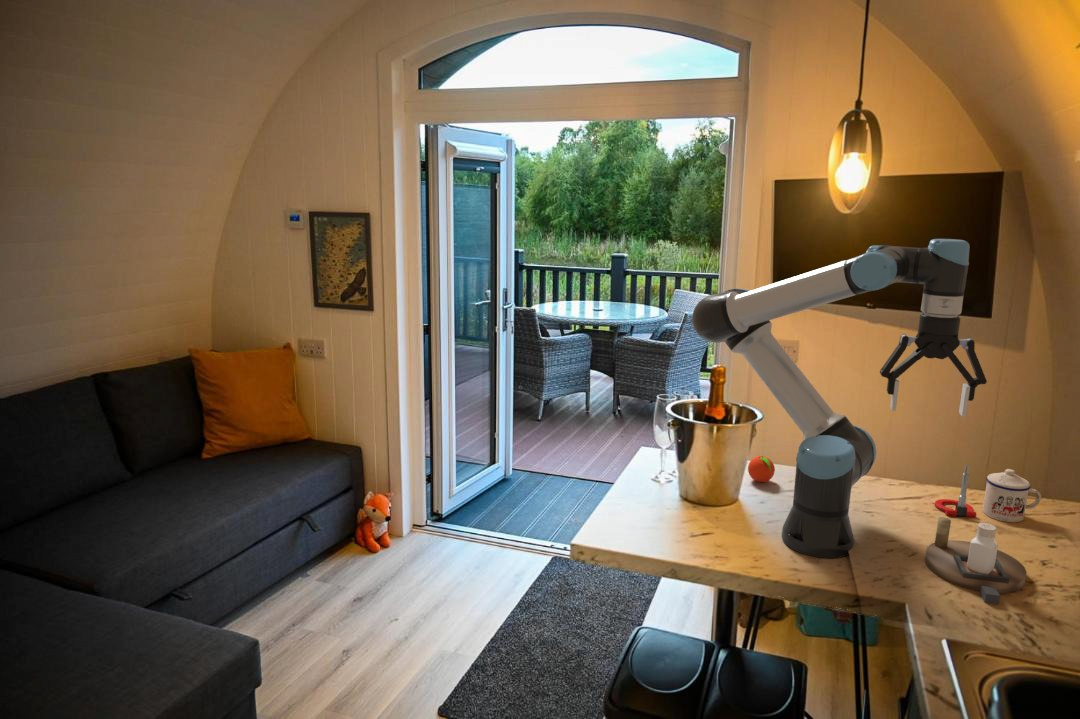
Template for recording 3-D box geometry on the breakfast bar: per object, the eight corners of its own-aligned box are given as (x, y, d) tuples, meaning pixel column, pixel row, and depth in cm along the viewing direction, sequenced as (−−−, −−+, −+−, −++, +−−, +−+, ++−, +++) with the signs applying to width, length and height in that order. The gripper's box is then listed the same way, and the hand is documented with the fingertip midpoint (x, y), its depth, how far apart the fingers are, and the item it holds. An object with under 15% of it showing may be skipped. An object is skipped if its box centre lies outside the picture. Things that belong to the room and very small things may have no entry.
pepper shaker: (986, 577, 149) (994, 532, 146) (965, 569, 152) (972, 525, 149) (994, 570, 151) (1002, 526, 149) (973, 562, 154) (980, 519, 152)
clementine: (781, 486, 200) (783, 461, 198) (757, 489, 198) (760, 463, 196) (764, 475, 207) (766, 450, 205) (742, 477, 205) (744, 453, 203)
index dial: (990, 602, 144) (997, 564, 142) (906, 560, 159) (910, 526, 157) (1043, 579, 152) (1050, 542, 150) (958, 541, 167) (963, 508, 165)
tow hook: (929, 502, 192) (942, 516, 183) (935, 453, 189) (949, 465, 180) (964, 504, 191) (980, 519, 182) (971, 455, 188) (987, 468, 179)
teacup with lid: (988, 521, 180) (995, 475, 178) (976, 505, 189) (983, 461, 186) (1044, 526, 178) (1052, 480, 175) (1029, 510, 186) (1037, 466, 184)
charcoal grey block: (983, 607, 144) (985, 593, 143) (979, 599, 147) (981, 585, 146) (997, 609, 143) (1000, 595, 143) (993, 601, 146) (995, 587, 145)
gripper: (878, 314, 157) (866, 411, 162) (1013, 321, 150) (997, 422, 155) (873, 308, 164) (862, 401, 169) (1002, 314, 157) (987, 411, 162)
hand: (927, 411), depth 162 cm, fingers open, 13 cm apart
